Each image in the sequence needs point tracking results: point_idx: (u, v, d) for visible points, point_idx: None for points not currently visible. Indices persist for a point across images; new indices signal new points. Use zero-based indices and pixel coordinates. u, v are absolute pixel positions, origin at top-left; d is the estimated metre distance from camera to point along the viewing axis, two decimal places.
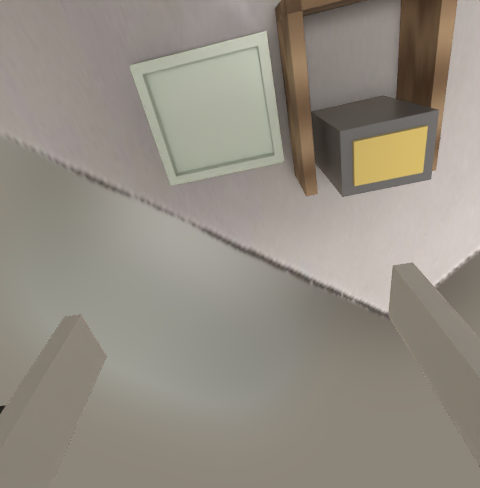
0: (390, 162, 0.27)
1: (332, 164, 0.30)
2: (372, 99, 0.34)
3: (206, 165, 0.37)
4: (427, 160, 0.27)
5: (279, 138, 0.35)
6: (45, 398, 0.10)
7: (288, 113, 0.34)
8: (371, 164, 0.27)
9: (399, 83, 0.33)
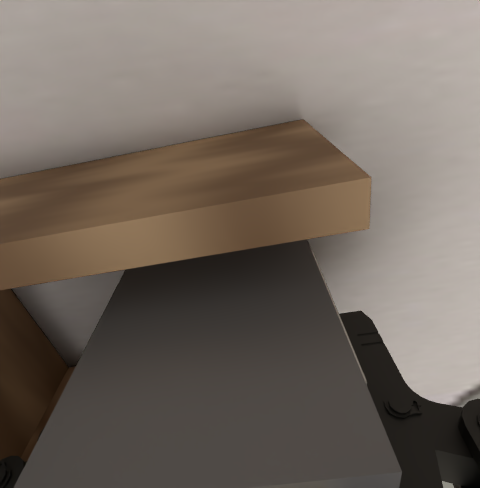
0: None
1: None
2: None
3: None
4: None
5: None
6: None
7: None
8: None
9: None
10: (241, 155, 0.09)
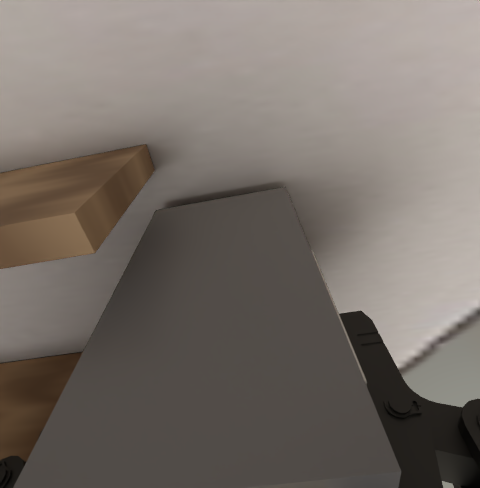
0: None
1: None
2: None
3: None
4: None
5: None
6: None
7: None
8: None
9: None
10: (49, 182, 0.11)
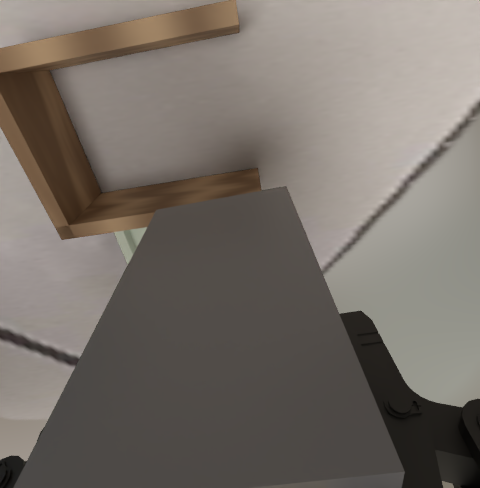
0: None
1: None
2: None
3: None
4: None
5: None
6: None
7: None
8: None
9: (140, 51, 0.24)
10: None
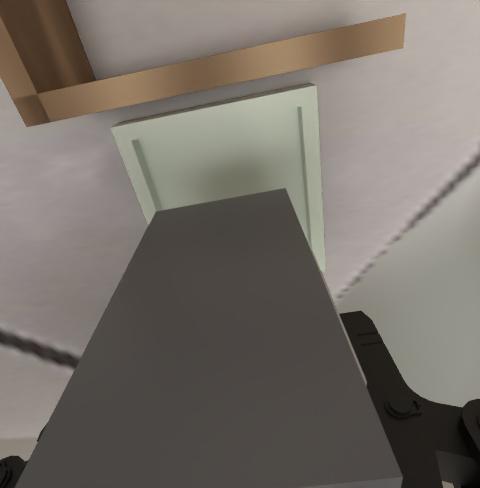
0: None
1: None
2: None
3: (304, 216, 0.24)
4: None
5: (271, 97, 0.19)
6: None
7: None
8: None
9: None
10: None
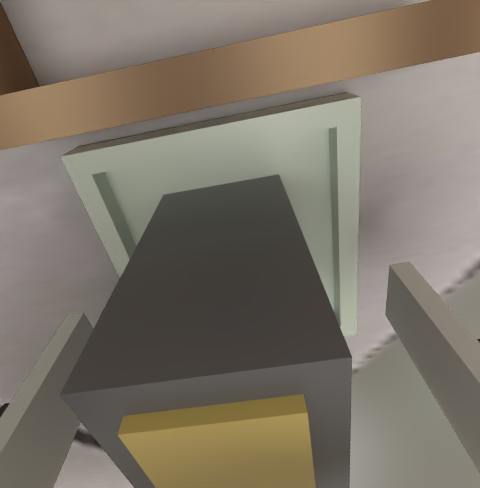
0: (253, 483, 0.08)
1: None
2: None
3: (330, 266, 0.18)
4: (259, 386, 0.06)
5: (293, 115, 0.13)
6: (49, 396, 0.10)
7: None
8: None
9: None
10: None
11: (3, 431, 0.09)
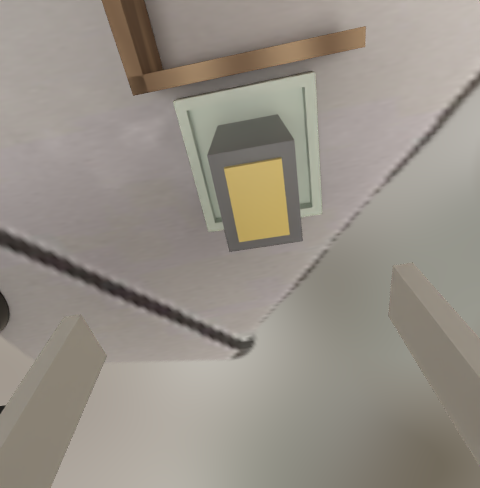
0: (264, 201, 0.22)
1: None
2: None
3: (306, 171, 0.33)
4: (267, 152, 0.21)
5: (283, 80, 0.27)
6: (46, 398, 0.10)
7: None
8: (265, 221, 0.23)
9: None
10: None
11: None
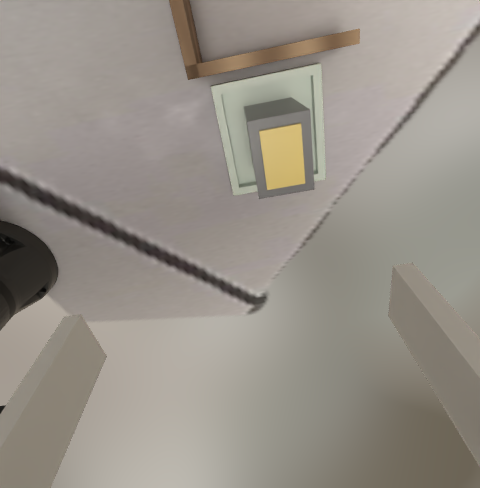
0: (287, 156, 0.30)
1: None
2: None
3: (313, 144, 0.41)
4: (290, 119, 0.29)
5: (297, 70, 0.35)
6: (45, 398, 0.10)
7: None
8: (287, 172, 0.31)
9: None
10: None
11: None
